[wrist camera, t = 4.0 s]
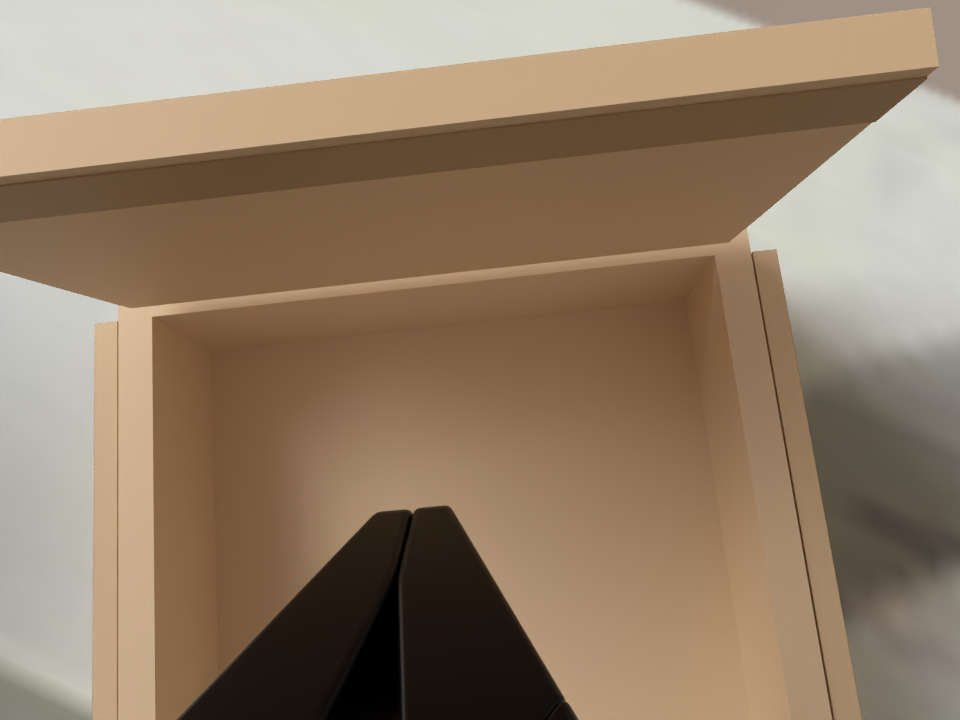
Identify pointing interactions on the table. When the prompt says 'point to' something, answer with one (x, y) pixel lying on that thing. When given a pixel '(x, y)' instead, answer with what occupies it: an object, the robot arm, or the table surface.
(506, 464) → the carton
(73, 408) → the table surface
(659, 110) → the flap
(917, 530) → the table surface
